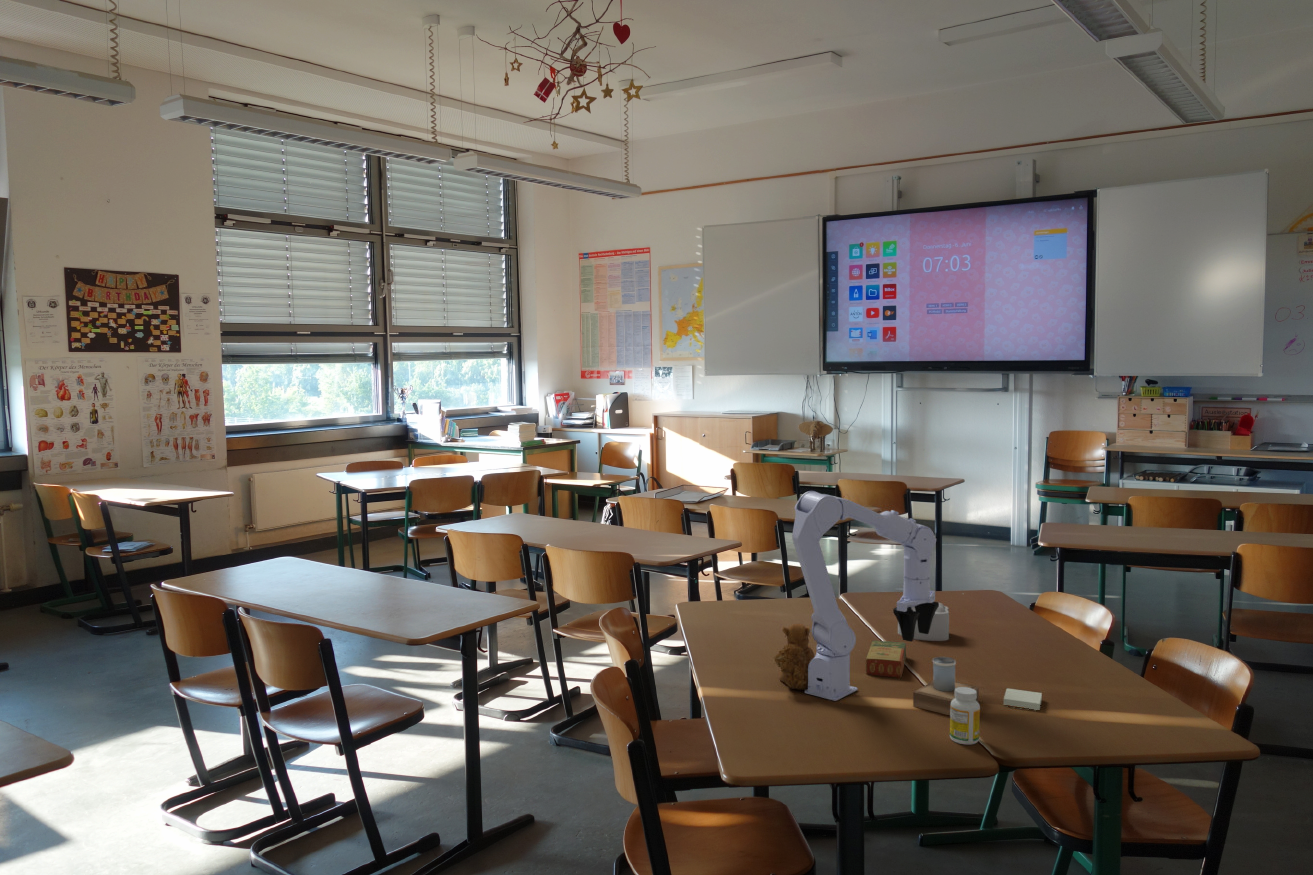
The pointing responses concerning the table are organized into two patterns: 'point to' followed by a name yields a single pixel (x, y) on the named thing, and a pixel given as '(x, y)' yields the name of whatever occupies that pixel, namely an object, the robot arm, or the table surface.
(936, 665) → the cup
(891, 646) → the carton
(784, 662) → the brown teddy bear
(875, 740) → the table surface
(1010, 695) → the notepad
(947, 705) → the box
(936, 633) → the lumpy-topped squat cylinder
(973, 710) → the supplement bottle
